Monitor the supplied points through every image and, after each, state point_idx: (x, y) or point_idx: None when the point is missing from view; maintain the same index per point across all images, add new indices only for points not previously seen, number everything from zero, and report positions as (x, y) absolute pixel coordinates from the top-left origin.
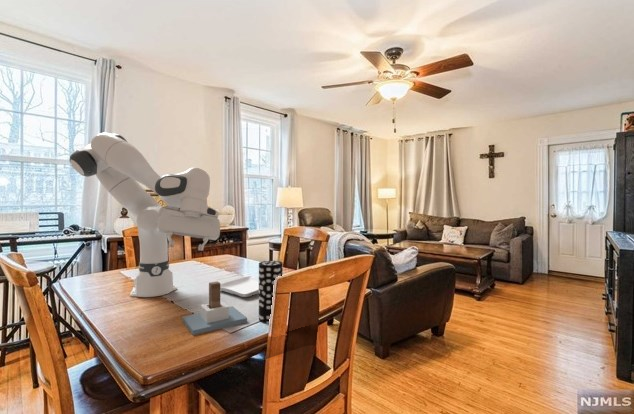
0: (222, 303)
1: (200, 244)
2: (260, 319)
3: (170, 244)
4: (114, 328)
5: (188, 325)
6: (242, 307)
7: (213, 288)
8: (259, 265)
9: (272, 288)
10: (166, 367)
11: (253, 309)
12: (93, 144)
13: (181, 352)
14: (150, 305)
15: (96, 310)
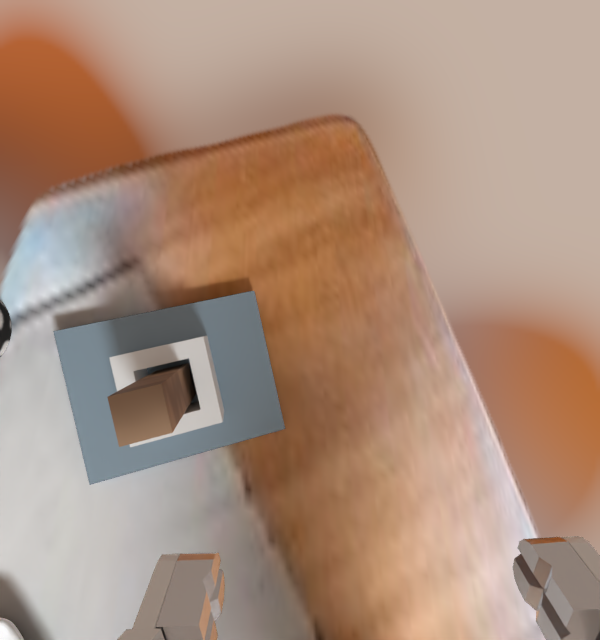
0: None
1: (187, 622)
2: (2, 314)
3: (570, 540)
4: (459, 428)
5: (266, 345)
6: (48, 498)
7: (155, 382)
8: None
9: None
10: (315, 135)
11: (4, 459)
12: None
13: (283, 196)
14: (391, 617)
15: None
